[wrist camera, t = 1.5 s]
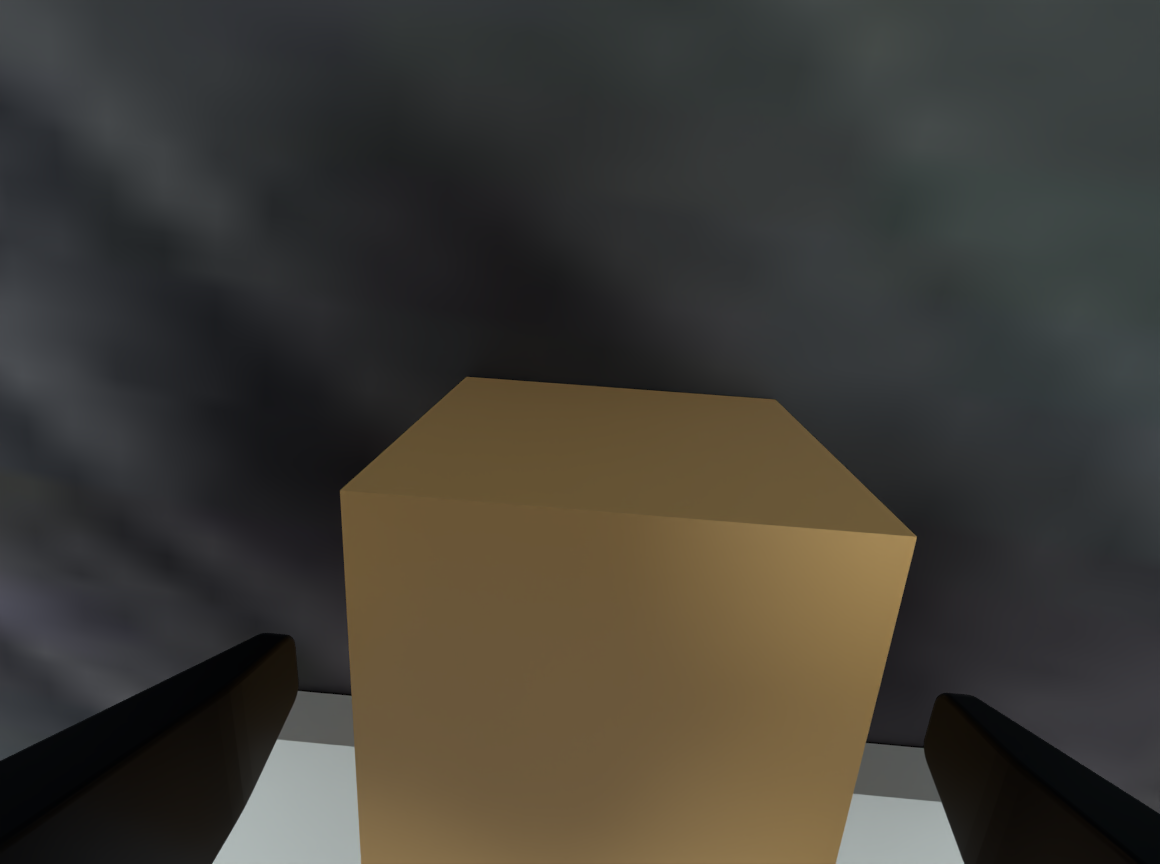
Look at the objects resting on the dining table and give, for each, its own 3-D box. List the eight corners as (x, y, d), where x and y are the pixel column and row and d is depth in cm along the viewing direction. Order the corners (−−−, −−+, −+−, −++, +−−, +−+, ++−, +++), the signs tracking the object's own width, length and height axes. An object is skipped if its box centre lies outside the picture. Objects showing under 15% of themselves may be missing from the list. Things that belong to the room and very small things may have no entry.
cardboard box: (733, 662, 14) (814, 949, 8) (464, 638, 14) (363, 903, 9) (775, 399, 12) (916, 537, 6) (466, 377, 12) (339, 490, 7)
